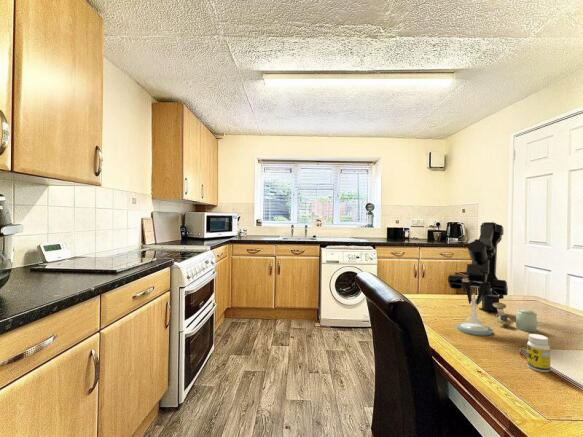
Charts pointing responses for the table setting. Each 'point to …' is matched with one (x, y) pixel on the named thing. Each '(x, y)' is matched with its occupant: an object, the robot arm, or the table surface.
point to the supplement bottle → (538, 353)
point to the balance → (501, 313)
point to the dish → (474, 329)
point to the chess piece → (474, 312)
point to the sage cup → (526, 320)
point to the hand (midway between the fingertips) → (473, 303)
